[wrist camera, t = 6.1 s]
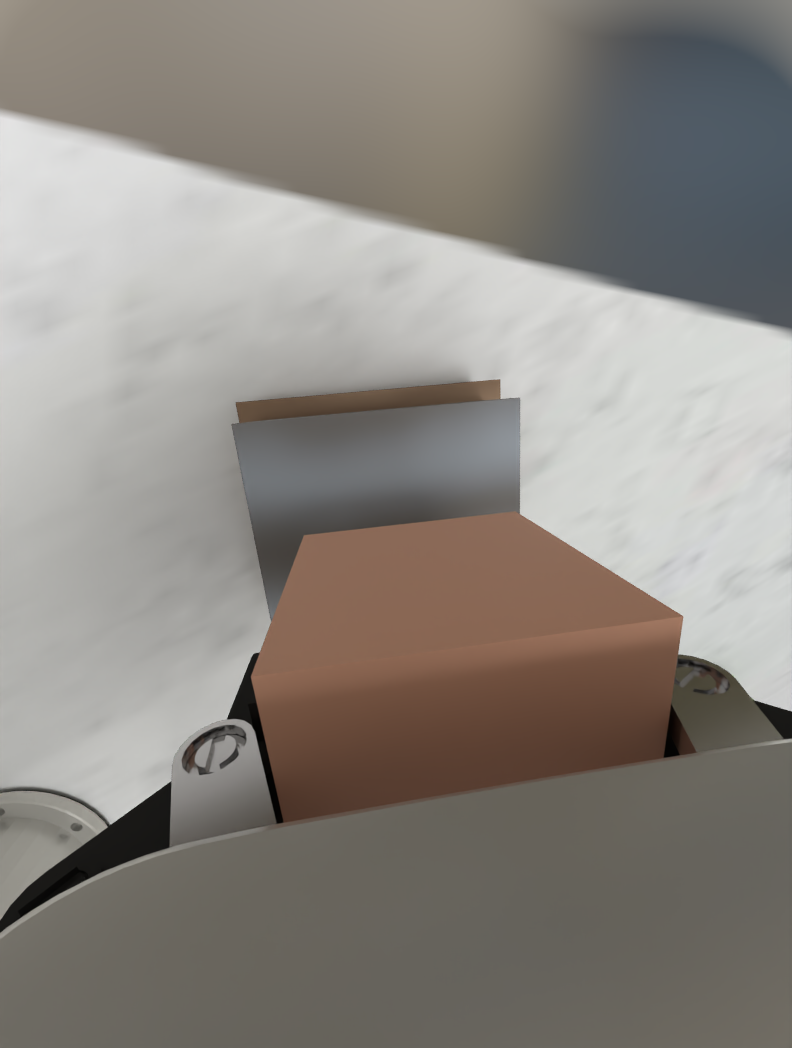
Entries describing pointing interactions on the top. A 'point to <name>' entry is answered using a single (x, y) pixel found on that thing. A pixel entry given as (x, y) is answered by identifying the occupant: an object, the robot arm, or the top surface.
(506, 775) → the terracotta brick
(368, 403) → the grey and brown block
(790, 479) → the top surface
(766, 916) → the robot arm
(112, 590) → the top surface
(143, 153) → the top surface
